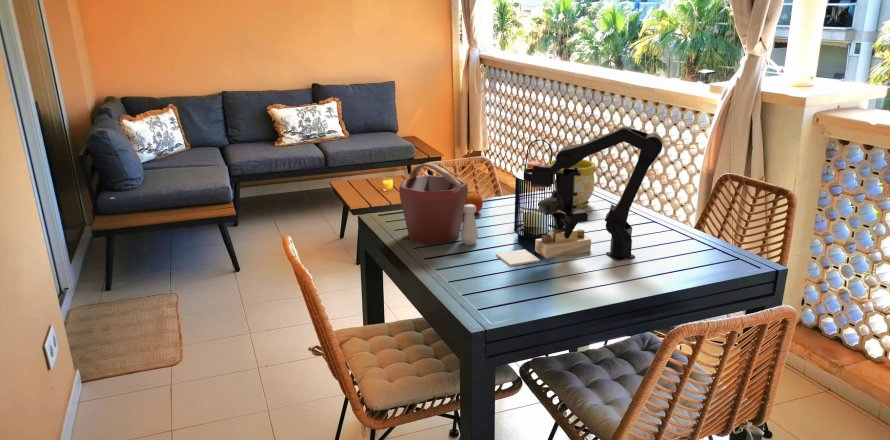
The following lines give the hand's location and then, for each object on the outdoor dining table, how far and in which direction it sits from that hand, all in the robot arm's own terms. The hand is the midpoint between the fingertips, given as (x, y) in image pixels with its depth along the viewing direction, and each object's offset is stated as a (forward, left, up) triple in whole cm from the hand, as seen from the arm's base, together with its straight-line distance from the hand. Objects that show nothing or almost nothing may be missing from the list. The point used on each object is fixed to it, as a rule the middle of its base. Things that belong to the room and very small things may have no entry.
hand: (563, 236), depth 219 cm
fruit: (+50, +11, -5) cm, 51 cm away
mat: (0, +16, -5) cm, 17 cm away
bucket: (+30, +33, -5) cm, 45 cm away
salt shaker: (+19, +24, -5) cm, 31 cm away
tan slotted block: (0, 0, -1) cm, 1 cm away
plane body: (0, 0, -5) cm, 5 cm away
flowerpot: (+44, -29, -5) cm, 53 cm away
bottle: (+37, -9, -5) cm, 38 cm away
